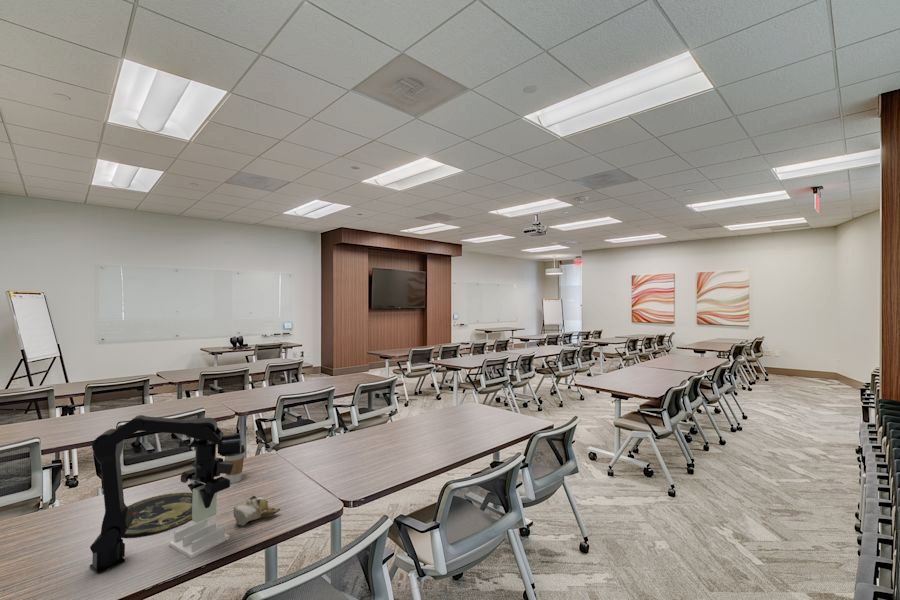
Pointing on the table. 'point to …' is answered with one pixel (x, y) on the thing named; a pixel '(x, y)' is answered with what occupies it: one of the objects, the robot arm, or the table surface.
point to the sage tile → (202, 506)
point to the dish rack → (198, 538)
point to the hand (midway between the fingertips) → (204, 506)
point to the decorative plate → (160, 514)
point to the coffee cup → (236, 466)
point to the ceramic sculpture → (253, 510)
